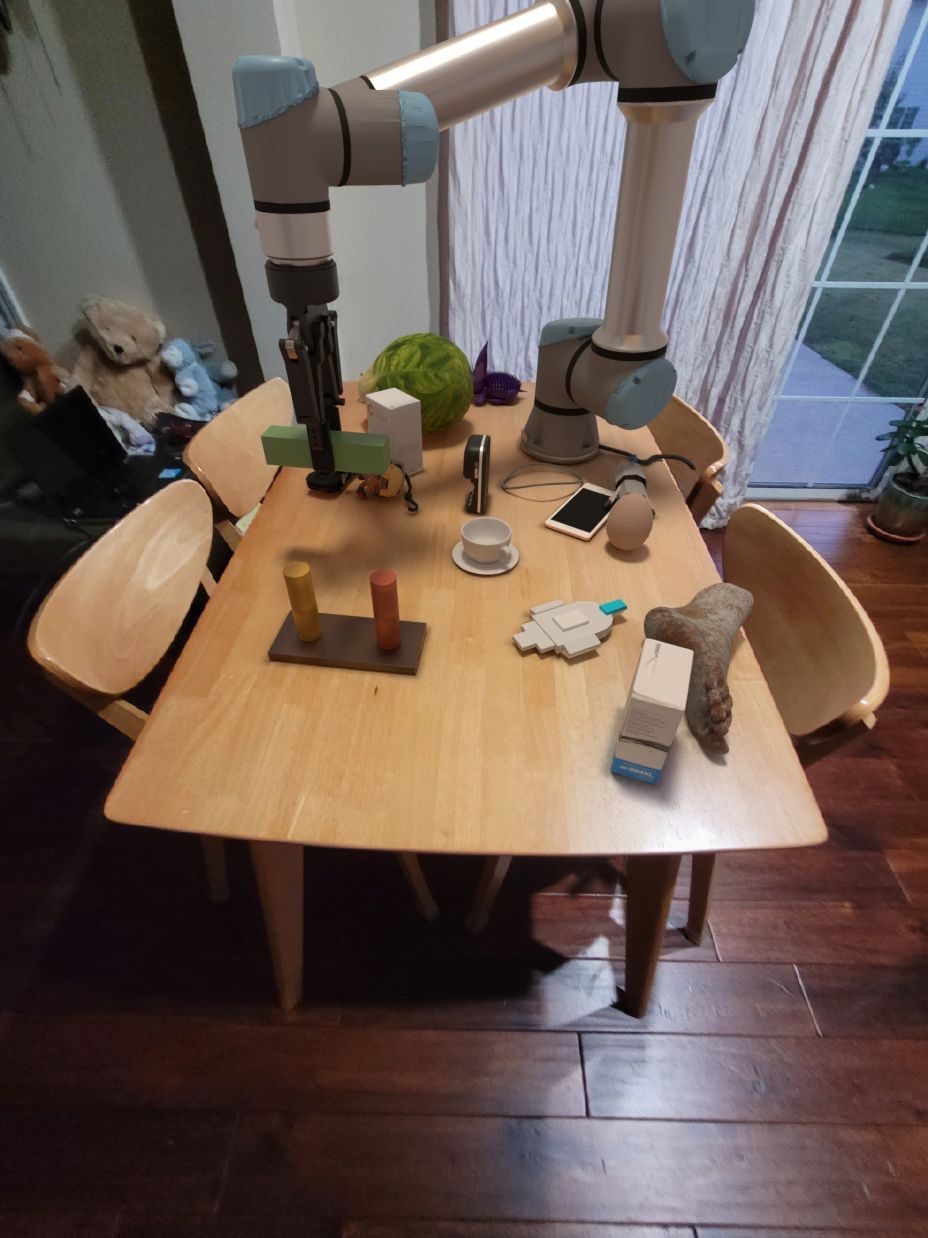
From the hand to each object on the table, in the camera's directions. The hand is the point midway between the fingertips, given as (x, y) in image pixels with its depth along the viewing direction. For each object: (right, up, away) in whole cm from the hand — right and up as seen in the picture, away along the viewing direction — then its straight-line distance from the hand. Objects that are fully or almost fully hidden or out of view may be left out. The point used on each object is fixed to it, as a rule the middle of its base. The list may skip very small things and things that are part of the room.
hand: (329, 461), depth 77 cm
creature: (+24, +29, +55) cm, 67 cm away
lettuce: (+8, +18, +43) cm, 47 cm away
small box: (+6, +7, +30) cm, 32 cm away
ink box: (+37, -35, -15) cm, 53 cm away
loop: (+34, +7, +31) cm, 46 cm away
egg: (+42, -10, +12) cm, 45 cm away
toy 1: (0, +7, +22) cm, 24 cm away
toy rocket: (+32, -21, -4) cm, 38 cm away
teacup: (+21, -12, +10) cm, 26 cm away
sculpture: (+41, -26, -12) cm, 50 cm away
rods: (+4, -24, -5) cm, 25 cm away
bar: (0, 0, 0) cm, 0 cm away
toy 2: (+45, -6, +14) cm, 47 cm away
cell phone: (+38, -3, +20) cm, 43 cm away
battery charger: (+20, -1, +21) cm, 29 cm away
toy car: (-5, +3, +26) cm, 27 cm away
